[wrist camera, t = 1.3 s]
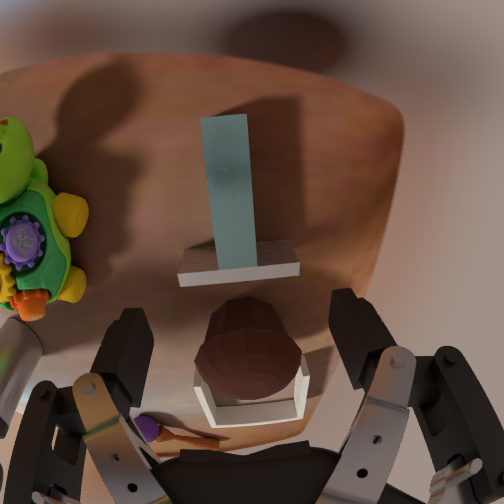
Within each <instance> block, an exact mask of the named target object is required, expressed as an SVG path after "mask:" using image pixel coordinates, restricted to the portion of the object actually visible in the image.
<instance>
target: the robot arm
mask: <svg viewBox="0 0 504 504" xmlns="http://www.w3.org/2000/svg"><path fill="white" fill-rule="evenodd" d="M328 320H329V328H330V332H331V334H332V336H333V339H334V341H335V344H336V346H337V349H338V351H339V353H340V356H341V358H342V361H343V363H344V366H345V368H346V371H347V373H348V376H349V378H350V381H351V384H352V386H353V389H354V390H356V389H360V388H363V389H364V392H365V395H364V397H363V399H362V402H361V404H360V407H359V409H358V411H357V414H356V416H355V418H354V421H353V423H352V425H351V428H350V429H349V432H348V434H347V436H346V438H345V439H344V441H343V443H342V445H341V447H340V449H339V451H338V453H337V452H334V451H332V450H328V449H324V448H318V447H310V445H309V441H308V440H307V441H301V442H295V443H288V444H281V445H276V446H273V447H270V448H267V449H264V450H261V451H258V452H255V453H252V454H249V455H236V454H230V453H225V452H219V451H214V450H187V449H180V456H179V457H175V458H171V459H169V460H166V461H164V462H162V461H161V459H160V458H159V457H158V456H157V455H156V454H155V452H154V451H153V450H152V449H151V447H150V446H149V444H148V443H147V441H146V440H145V438H144V437H143V435H142V433H141V432H140V430H139V429H138V427H137V425H136V424H135V422H134V420H133V418H132V417H131V415H130V414H129V412H130V408H131V407H137V408H140V406H141V400H142V396H143V391H144V386H145V381H146V377H147V372H148V368H149V364H150V359H151V355H152V351H153V347H154V338H153V334H152V331H151V329H150V326H149V324H148V321H147V318H146V316H145V313H144V311H143V309H142V308H125V309H124V310H123V312H122V314H121V317H120V319H119V320H115V321H114V322H113V323H112V324H111V325H110V326H109V327H108V329H107V331H106V333H105V336H104V339H103V340H102V343H101V346H100V347H99V350H98V352H97V355H96V357H95V360H94V362H93V365H92V367H91V370H90V372H89V373H86V374H83V375H81V376H80V377H79V378H78V379H77V380H76V381H75V382H74V385H73V386H70V387H64V388H57V387H56V386H55V385H54V383H52V382H51V381H48V380H45V381H41V382H39V383H38V384H37V385H36V386H35V387H34V388H33V390H32V392H31V395H30V397H29V400H28V403H27V406H26V409H25V411H24V414H23V418H22V420H21V424H20V427H19V430H18V433H17V437H16V441H15V445H14V448H13V452H12V456H11V461H10V465H9V470H8V475H7V481H6V487H5V494H4V502H3V504H81V503H80V495H81V484H82V476H83V468H84V461H85V455H86V449H88V451H89V453H90V455H91V458H92V460H93V462H94V464H95V466H96V468H97V470H98V472H99V474H100V476H101V478H102V480H103V482H104V483H105V486H106V487H107V489H108V491H109V493H110V494H111V496H112V498H113V500H114V501H115V503H116V504H426V503H424V502H422V501H420V500H418V499H416V498H414V497H412V496H410V495H408V494H406V493H404V492H403V491H401V490H399V489H397V488H395V487H393V486H391V485H390V484H388V483H386V481H387V479H388V477H389V474H390V472H391V469H392V467H393V464H394V461H395V459H396V456H397V453H398V450H399V447H400V444H401V441H402V438H403V434H404V431H405V428H406V425H407V421H408V418H409V409H407V407H413V410H414V412H415V415H416V417H417V420H418V423H419V425H420V428H421V431H422V433H423V436H424V439H425V441H426V444H427V447H428V450H429V453H430V456H431V459H432V462H433V465H434V468H435V471H436V474H435V475H434V476H433V478H432V480H431V484H430V494H431V495H430V499H429V502H428V504H489V503H492V502H494V501H496V500H498V499H500V498H502V497H504V430H503V427H502V425H501V423H500V421H499V419H498V417H497V415H496V413H495V411H494V409H493V407H492V405H491V403H490V401H489V399H488V397H487V395H486V393H485V391H484V390H483V388H482V386H481V384H480V382H479V381H478V379H477V377H476V376H475V374H474V372H473V371H472V369H471V367H470V366H469V364H468V362H467V361H466V359H465V357H464V356H463V354H462V353H461V352H460V351H459V350H458V349H456V348H454V347H452V346H443V347H440V348H439V349H438V350H437V351H436V353H435V355H434V356H414V354H413V353H412V352H411V351H410V350H408V349H407V348H404V347H401V346H398V345H397V344H396V342H395V341H394V339H393V337H392V335H391V334H390V332H389V331H388V329H387V327H386V326H385V324H384V323H383V321H381V318H380V316H379V315H378V314H377V312H376V310H375V308H374V307H373V305H372V304H371V303H369V302H368V301H367V300H365V299H364V298H357V297H356V295H355V293H354V292H353V290H352V289H351V288H344V289H337V290H333V291H332V295H331V303H330V311H329V319H328ZM42 353H43V347H42V345H41V343H40V341H39V339H38V338H37V336H36V335H35V334H34V333H33V332H32V331H31V330H30V329H29V328H28V327H27V326H26V325H25V324H23V323H22V322H20V321H19V320H16V319H14V318H9V319H7V320H6V322H5V323H4V325H3V326H2V327H1V329H0V439H3V438H4V437H5V436H6V434H7V431H8V428H9V425H10V423H11V420H12V417H13V415H14V412H15V410H16V407H17V405H18V403H19V400H20V398H21V396H22V394H23V391H24V389H25V387H26V385H27V383H28V381H29V379H30V377H31V375H32V373H33V371H34V369H35V367H36V365H37V363H38V361H39V359H40V357H41V355H42ZM56 426H57V427H58V428H59V429H58V433H57V437H56V441H55V445H54V450H52V440H53V436H54V432H55V428H56ZM2 483H3V468H2V465H1V464H0V491H1V487H2Z"/></svg>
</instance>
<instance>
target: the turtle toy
mask: <svg viewBox="0 0 504 504" xmlns="http://www.w3.org/2000/svg"><path fill="white" fill-rule="evenodd" d="M88 215H89V208H88V204H87V202H86V200H85V199H84V198H81V197H79V196H76V195H72V194H68V193H64V192H62V193H60V194H59V195H58V196H56V195H55V194H54V192H53V191H52V190H51V189H50V187H48V172H47V168H46V165H45V164H44V162H43V161H42V160H40V159H36V158H34V148H33V142H32V139H31V136H30V134H29V132H28V130H27V128H26V126H25V125H24V124H23V123H22V122H21V121H20V120H19V119H16V118H14V117H5V118H2V119H0V306H1V307H3V308H5V309H6V310H7V311H14V312H19V314H20V317H21V318H22V319H23V320H24V321H35V320H38V319H40V318H42V317H44V315H45V313H46V308H45V305H46V304H47V303H49V302H52V301H55V300H56V299H59V300H65V301H68V302H71V303H76V302H78V301H79V300H80V299H81V298H82V296H83V294H84V291H85V288H86V275H85V273H84V271H83V270H81V269H79V268H77V267H75V266H72V265H71V251H70V244H69V240H68V237H71V238H74V237H77V236H78V235H80V234H81V233H82V231H83V229H84V228H85V225H86V223H87V219H88Z"/></svg>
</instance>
